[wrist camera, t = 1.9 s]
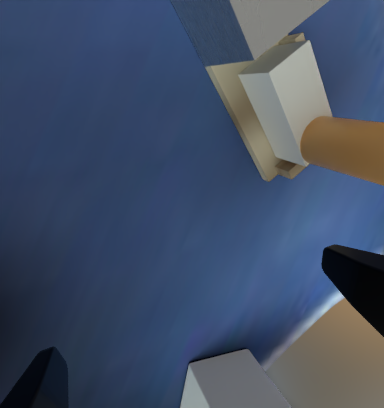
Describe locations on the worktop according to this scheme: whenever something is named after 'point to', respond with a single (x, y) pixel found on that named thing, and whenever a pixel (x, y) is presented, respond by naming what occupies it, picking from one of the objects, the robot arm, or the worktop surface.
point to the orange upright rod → (309, 116)
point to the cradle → (251, 116)
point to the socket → (240, 26)
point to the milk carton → (230, 384)
